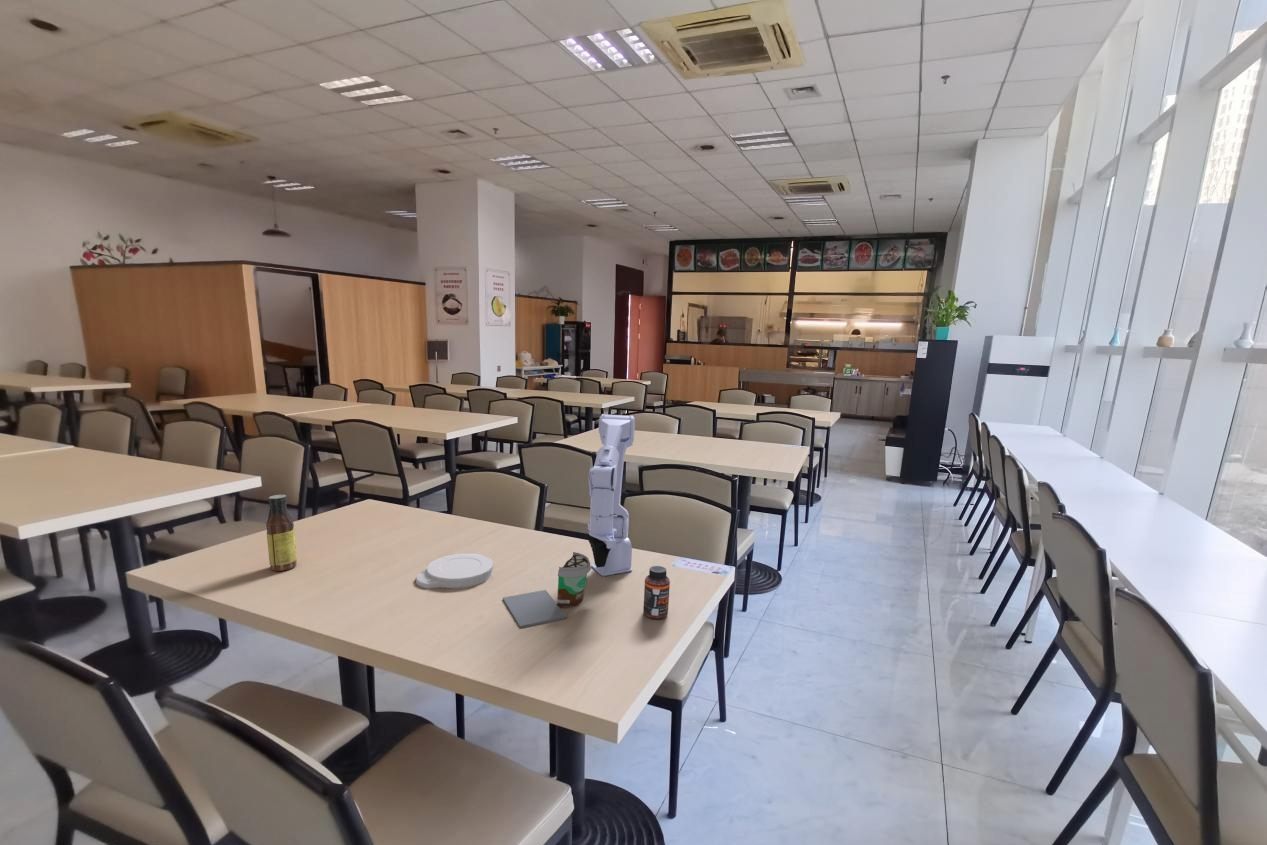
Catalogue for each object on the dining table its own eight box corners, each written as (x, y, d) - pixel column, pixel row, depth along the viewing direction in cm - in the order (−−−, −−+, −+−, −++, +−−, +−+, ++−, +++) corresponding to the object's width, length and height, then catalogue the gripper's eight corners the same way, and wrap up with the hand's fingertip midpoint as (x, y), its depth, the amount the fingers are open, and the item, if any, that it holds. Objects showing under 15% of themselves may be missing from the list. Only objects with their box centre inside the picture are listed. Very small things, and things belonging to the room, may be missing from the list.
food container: (579, 612, 129) (583, 572, 128) (554, 608, 130) (558, 567, 129) (593, 592, 141) (596, 555, 140) (570, 588, 142) (573, 551, 141)
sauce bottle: (302, 563, 151) (299, 493, 148) (286, 573, 145) (282, 500, 142) (280, 562, 151) (276, 492, 149) (262, 571, 145) (258, 498, 142)
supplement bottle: (660, 622, 126) (662, 576, 125) (638, 615, 129) (640, 569, 128) (672, 612, 131) (674, 567, 130) (651, 605, 134) (653, 561, 133)
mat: (545, 591, 140) (545, 589, 140) (566, 618, 127) (566, 616, 127) (502, 599, 135) (502, 597, 135) (520, 628, 122) (520, 625, 121)
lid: (408, 573, 148) (408, 562, 148) (480, 558, 160) (480, 549, 159) (425, 598, 134) (425, 586, 134) (503, 580, 146) (503, 570, 145)
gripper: (628, 521, 131) (626, 575, 133) (606, 504, 144) (604, 553, 146) (600, 523, 128) (598, 579, 130) (580, 506, 141) (579, 556, 143)
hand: (600, 566), depth 137 cm, fingers closed
